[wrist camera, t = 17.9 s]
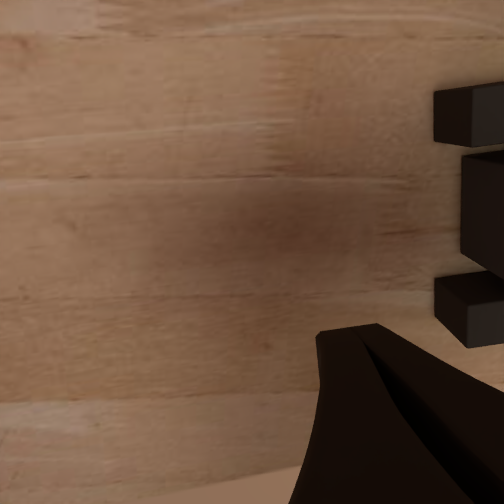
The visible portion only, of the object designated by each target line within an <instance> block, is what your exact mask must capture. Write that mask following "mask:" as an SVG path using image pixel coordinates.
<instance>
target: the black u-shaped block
mask: <svg viewBox="0 0 504 504" xmlns="http://www.w3.org/2000/svg"><path fill="white" fill-rule="evenodd" d="M434 140H435V142H441V143H447V144H453V145H460V146H466V147H472V148H473V147H480V146H487V145H494V144H501V143H504V81H503V82H496V83H489V84H482V85H475V86H468V87H461V88H454V89H447V90H440V91H435V93H434ZM435 317H436V318H437V319H438V320H439V321H440V322H441V323H442V324H443V325H444V326H445V327H446V328H447V329H448V330H449V331H450V332H451V333H452V334H453V335H454V336H455V337H456V338H457V339H458V340H459V341H460V342H461V343H462V344H463V345H464V346H465V347H466V348H475V347H482V346H489V345H496V344H502V343H504V279H502V278H500V277H499V276H497V275H496V274H494V273H492V272H491V271H486V272H479V273H472V274H465V275H458V276H451V277H445V278H438V279H435Z"/></svg>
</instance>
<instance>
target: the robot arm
mask: <svg viewBox="0 0 504 504" xmlns="http://www.w3.org/2000/svg"><path fill="white" fill-rule="evenodd" d="M315 338H316V348H317V358H318V368H319V378H320V390H319V397H318V402H317V408H316V414H315V420H314V424H313V429H312V433H311V437H310V441H309V444H308V448H307V451H306V455H305V458H304V462H303V465H302V467H301V470H300V473H299V476H298V479H297V482H296V485H295V488H294V491H293V493H292V496H291V499H290V501H289V503H288V504H504V392H502V391H500V390H498V389H496V388H494V387H492V386H490V385H488V384H486V383H484V382H481V381H479V380H477V379H475V378H473V377H471V376H470V375H468V374H466V373H464V372H462V371H460V370H458V369H456V368H454V367H453V366H451V365H449V364H447V363H445V362H444V361H442V360H440V359H438V358H437V357H435V356H433V355H431V354H430V353H428V352H426V351H424V350H423V349H421V348H419V347H418V346H416V345H414V344H412V343H411V342H409V341H407V340H406V339H404V338H402V337H401V336H399V335H397V334H396V333H394V332H392V331H391V330H389V329H387V328H385V327H384V326H382V325H380V324H378V323H374V324H368V325H361V326H354V327H347V328H340V329H334V330H327V331H320V332H319V333H318V335H317V336H316V337H315Z"/></svg>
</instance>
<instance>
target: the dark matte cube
mask: <svg viewBox="0 0 504 504" xmlns="http://www.w3.org/2000/svg"><path fill="white" fill-rule="evenodd" d="M461 253H462V254H464V255H465V256H467V257H468V258H470V259H472V260H473V261H475V262H476V263H478V264H480V265H481V266H483V267H484V268H486V269H488V270H489V271H491V272H492V273H494V274H496V275H497V276H499V277H500V278H502V279H504V150H501V151H494V152H487V153H480V154H473V155H466V156H463V158H462V213H461Z"/></svg>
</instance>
